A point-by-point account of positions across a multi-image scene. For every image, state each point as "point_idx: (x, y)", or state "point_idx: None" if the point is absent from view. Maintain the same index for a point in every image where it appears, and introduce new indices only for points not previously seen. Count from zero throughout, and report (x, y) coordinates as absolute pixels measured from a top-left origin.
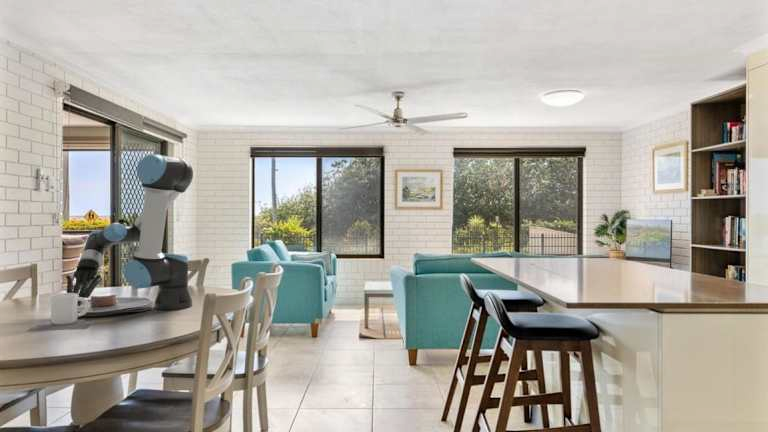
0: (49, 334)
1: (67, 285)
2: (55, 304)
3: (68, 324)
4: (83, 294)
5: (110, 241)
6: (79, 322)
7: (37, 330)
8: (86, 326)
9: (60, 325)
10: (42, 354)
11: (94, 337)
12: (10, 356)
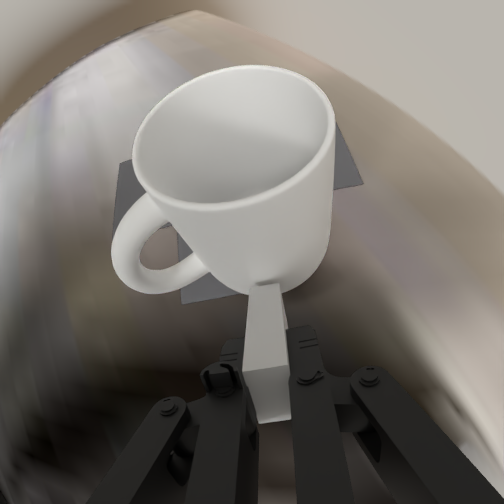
0: None
1: (467, 465)
2: (255, 105)
3: None
4: (200, 415)
5: None
6: (184, 243)
7: None
8: (127, 186)
9: None
10: (150, 31)
11: (82, 109)
12: (200, 14)
